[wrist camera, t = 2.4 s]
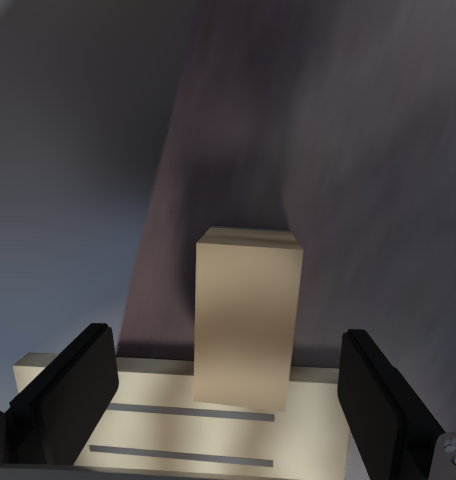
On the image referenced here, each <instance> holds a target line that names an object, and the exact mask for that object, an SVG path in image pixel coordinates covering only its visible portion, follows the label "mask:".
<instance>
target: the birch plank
mask: <svg viewBox="0 0 456 480" xmlns="http://www.w3.org/2000/svg"><path fill="white" fill-rule="evenodd" d="M58 355H59V354H45V353H28V354H27V355H25V356H24V357H23V358H22V359H20V360H19V361H18V362H16V363H15V364H14V365H13V370H14V375H15V379H16V384H17V388H18V393H20V392H21V391H22V390H23V389H24V388H25V387H26V386H27V385H28V384H29V383H30V382H31V381H32V380H33V379H34V378H35V377H36V376H37V375H38V374H39V373H41V372H42V371H43V370H44V369H45V368H46V367H47V366H48V365H49V364H50V363H51V362H52V361H53V360H54V359H55V358H56V357H57V356H58ZM116 362H117V370H118V377H119V387H118V390H117V392H116V394H115V396H114V397H113V399H112V401H111V402H110V404H109V406H108V407H107V409H106V411H105V413H104V414H103V416H102V418H101V419H100V421H99V423H98V424H97V426H96V428H95V429H94V431H93V433H92V435H91V436H90V438H89V440H88V441H87V443H86V445H85V446H84V448H83V450H82V451H81V453H80V455H79V456H78V458H77V460H76V462H75V463H74V465H75V466H93V467H111V468H128V469H146V470H162V471H179V472H195V473H210V474H226V475H242V476H256V477H271V478H285V479H299V480H344V475H345V466H346V456H347V447H348V438H349V425H348V423H347V420H346V418H345V415H344V413H343V410H342V408H341V405H340V403H339V400H338V395H337V387H338V377H339V369H337V368H318V367H298V366H290V375H289V384H288V393H287V401H286V410H285V412H281V411H272V410H264V409H255V408H247V407H238V406H229V405H221V404H212V403H203V402H195V401H193V400H194V361H182V360H163V359H143V358H124V357H116Z"/></svg>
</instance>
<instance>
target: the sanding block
mask: <svg viewBox="0 0 456 480" xmlns="http://www.w3.org/2000/svg"><path fill="white" fill-rule="evenodd" d="M303 252H304V250H303V248H302V247H301V245H300V244H299V243H298V241H297V240H296V238H295V237H294V235H293V234H292V233H291V231H290V230H276V229H260V228H244V227H228V226H211V227H210V228H209V229H208V231H207V232H206V233H205V234H204V235H203V236H202V237H201V238H200V239H199V241H198V242H197V243H196V294H195V347H194V400H193V401H195V402H203V403H212V404H221V405H229V406H238V407H247V408H255V409H264V410H272V411H281V412H285V410H286V401H287V393H288V384H289V375H290V366H291V357H292V349H293V340H294V331H295V322H296V313H297V304H298V296H299V287H300V278H301V269H302V260H303Z"/></svg>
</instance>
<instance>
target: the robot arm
mask: <svg viewBox="0 0 456 480" xmlns="http://www.w3.org/2000/svg"><path fill="white" fill-rule="evenodd" d="M118 387H119V377H118V370H117V362H116V355H115V348H114V341H113V333H112V329H111V327H108V325H107V324H106V323H91V324H90V325H89V326H88V327H87V328H86V329H85V330H84V331H83V332H82V333H81V334H80V335H79V336H78V337H77V338H75V339H74V340H73V341H72V342H71V343H70V344H69V345H68V346H67V347H66V348H65V349H64V350H63V351H62V352H61V353H60V354H59V355H58V356H57V357H56V358H55V359H54V360H53V361H52V362H51V363H50V364H49V365H48V366H47V367H46V368H45V369H44V370H43V371H42V372H41V373H39V374H38V375H37V376H36V377H35V378H34V379H33V380H32V381H31V382H30V383H29V384H28V385H27V386H26V387H25V388H24V389H23V390H22V391H21V392H20V393H19V394H18V395H17V396H16V397H15V398H14V399H13V400H12V401H11V402H10V403H9V404H10V408H9V409H8V410H7V411H6V412H5V413H3V412H2V411H0V480H299V479H285V478H271V477H256V476H242V475H226V474H210V473H195V472H179V471H162V470H146V469H128V468H111V467H93V466H75V465H74V463H75V462H76V460H77V458H78V456H79V455H80V453H81V451H82V450H83V448H84V446H85V445H86V443H87V441H88V440H89V438H90V436H91V435H92V433H93V431H94V429H95V428H96V426H97V424H98V423H99V421H100V419H101V418H102V416H103V414H104V413H105V411H106V409H107V407H108V406H109V404H110V402H111V401H112V399H113V397H114V396H115V394H116V392H117V390H118ZM337 395H338V400H339V403H340V405H341V408H342V410H343V413H344V415H345V418H346V420H347V423H348V425H349V428H350V430H351V433H352V435H353V438H354V440H355V443H356V445H357V448H358V450H359V452H360V455H361V457H362V460H363V462H364V465H365V467H366V470H367V472H368V475H369V477H370V480H456V433H446V432H445V431H444V430H443V428H442V427H441V426H440V424H439V423H438V422H437V420H436V419H435V418H434V416H433V415H432V414H431V413H430V411H429V410H428V409H427V407H426V406H425V405H424V403H423V402H422V401H421V399H420V398H419V397H418V395H417V394H416V393H415V392H414V390H413V389H412V388H411V386H410V385H409V384H408V382H407V381H406V380H405V378H404V377H403V376H402V375H401V373H400V372H399V371H398V370H397V369H396V368H395V367H393V366H392V365H391V364H390V362H389V361H388V360H387V358H386V357H385V356H384V354H383V353H382V352H381V350H380V349H379V348H378V346H377V345H376V344H375V342H374V341H373V340H372V338H371V337H370V336H369V334H368V333H367V332H366V331H365V330H360V329H349V330H348V332H347V333H344V334H343V337H342V347H341V357H340V367H339V377H338V387H337Z"/></svg>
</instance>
